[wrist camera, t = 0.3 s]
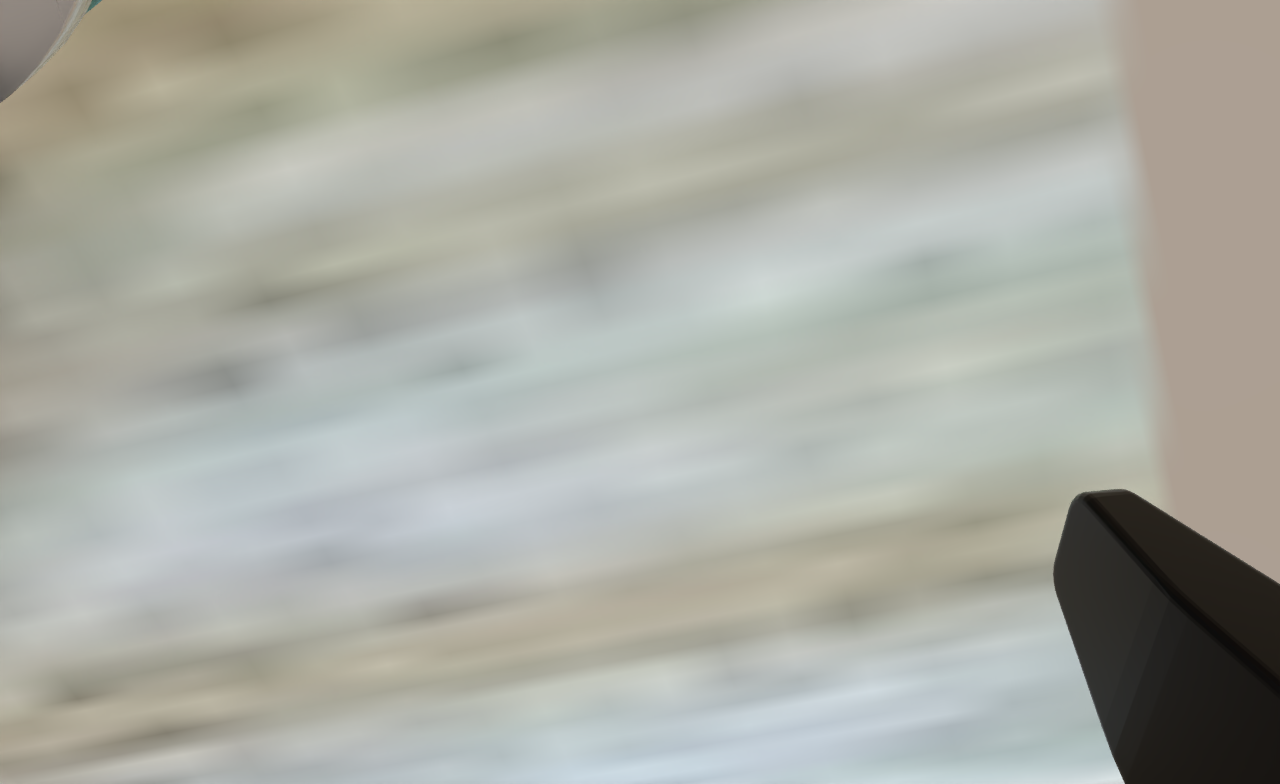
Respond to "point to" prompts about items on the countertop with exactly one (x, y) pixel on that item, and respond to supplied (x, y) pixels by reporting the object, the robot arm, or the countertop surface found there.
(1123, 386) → the countertop surface
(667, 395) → the countertop surface
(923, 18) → the countertop surface
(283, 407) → the countertop surface
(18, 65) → the tin
